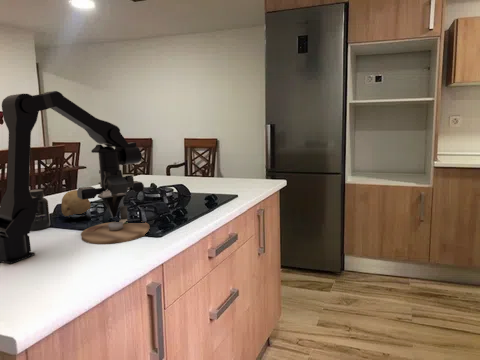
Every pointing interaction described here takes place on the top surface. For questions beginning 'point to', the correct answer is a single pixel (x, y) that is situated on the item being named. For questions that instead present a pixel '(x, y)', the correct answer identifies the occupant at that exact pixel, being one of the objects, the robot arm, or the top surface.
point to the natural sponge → (74, 204)
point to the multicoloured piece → (123, 219)
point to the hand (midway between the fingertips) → (113, 217)
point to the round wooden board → (114, 233)
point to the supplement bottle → (41, 211)
